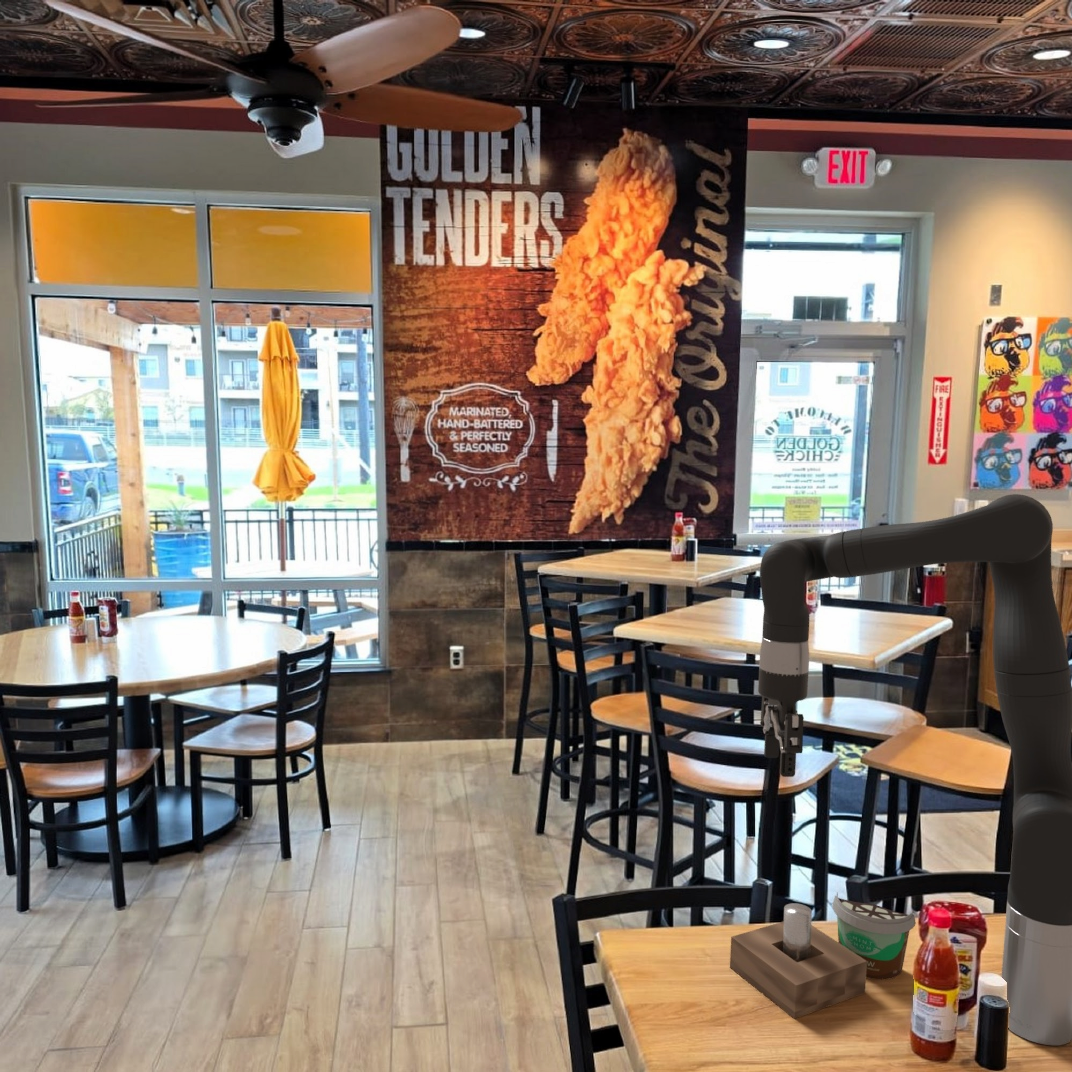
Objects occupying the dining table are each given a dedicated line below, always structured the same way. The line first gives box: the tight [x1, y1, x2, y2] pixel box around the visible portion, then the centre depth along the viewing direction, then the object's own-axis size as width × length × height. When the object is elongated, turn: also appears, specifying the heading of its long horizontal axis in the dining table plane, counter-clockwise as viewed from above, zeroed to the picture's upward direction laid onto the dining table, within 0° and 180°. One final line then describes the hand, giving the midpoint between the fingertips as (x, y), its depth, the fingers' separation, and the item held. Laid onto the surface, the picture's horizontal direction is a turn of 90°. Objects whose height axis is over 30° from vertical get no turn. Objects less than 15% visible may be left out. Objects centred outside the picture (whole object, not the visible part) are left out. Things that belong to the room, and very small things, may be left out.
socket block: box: [729, 920, 867, 1020], centre depth 136 cm, size 14×14×5 cm
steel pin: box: [783, 902, 813, 962], centre depth 135 cm, size 4×4×10 cm
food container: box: [832, 891, 916, 980], centre depth 138 cm, size 12×6×10 cm, turn 62°
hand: (778, 766), depth 142 cm, fingers open, 8 cm apart
